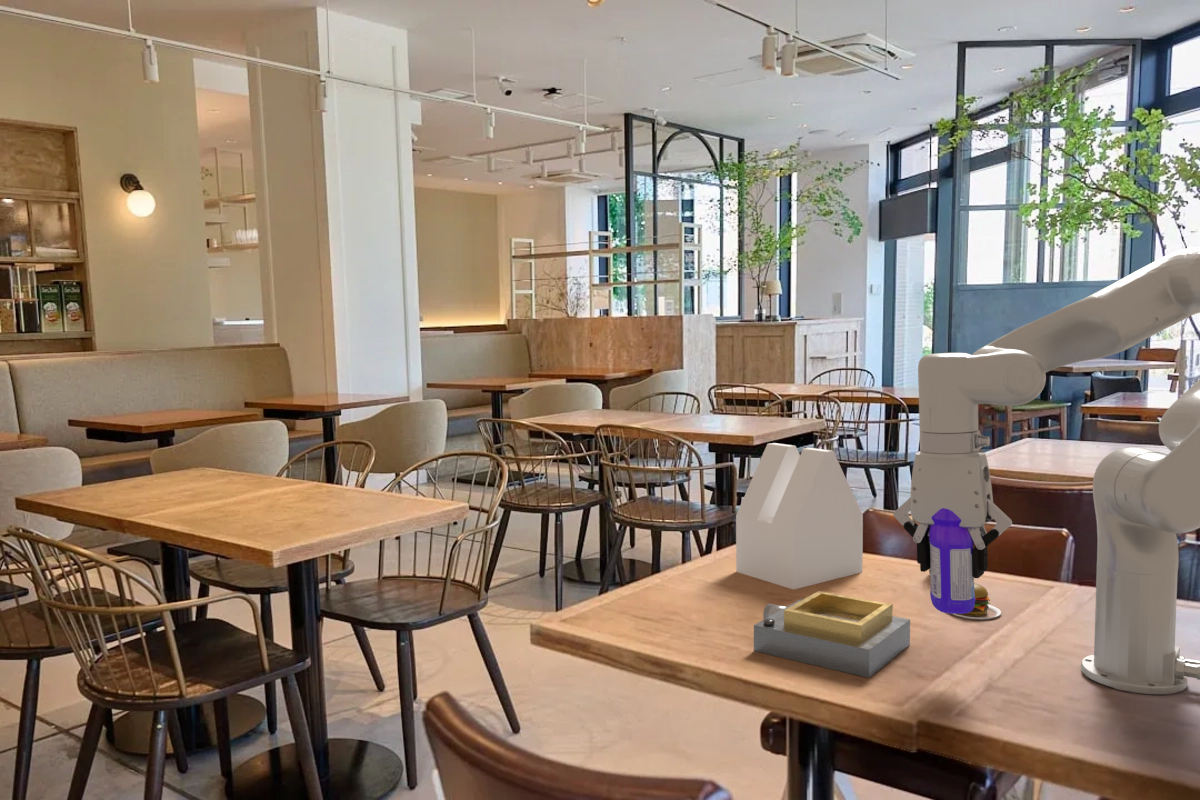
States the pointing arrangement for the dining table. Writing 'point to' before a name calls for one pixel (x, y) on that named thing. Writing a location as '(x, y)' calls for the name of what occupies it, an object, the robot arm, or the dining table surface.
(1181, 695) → the dining table surface
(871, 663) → the grey brass fixture
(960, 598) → the bottle
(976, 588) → the hamburger
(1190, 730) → the dining table surface
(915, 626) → the dining table surface
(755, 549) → the white notched block
